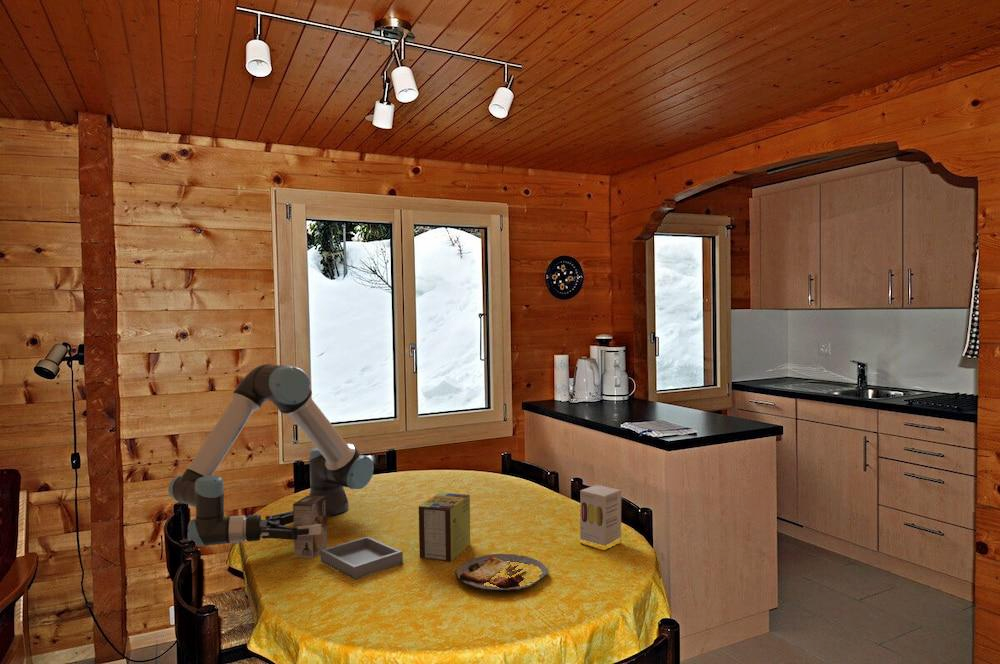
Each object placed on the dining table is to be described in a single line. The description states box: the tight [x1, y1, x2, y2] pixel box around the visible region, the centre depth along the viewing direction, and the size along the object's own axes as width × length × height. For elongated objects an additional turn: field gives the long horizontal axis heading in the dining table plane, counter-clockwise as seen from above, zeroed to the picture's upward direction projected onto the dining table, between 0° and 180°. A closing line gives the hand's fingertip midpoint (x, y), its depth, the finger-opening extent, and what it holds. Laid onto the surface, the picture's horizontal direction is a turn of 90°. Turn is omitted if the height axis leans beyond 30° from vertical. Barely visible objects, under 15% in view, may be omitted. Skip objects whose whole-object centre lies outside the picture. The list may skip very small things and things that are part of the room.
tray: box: [319, 535, 404, 580], centre depth 191 cm, size 16×18×4 cm
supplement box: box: [579, 484, 622, 546], centre depth 204 cm, size 10×9×17 cm
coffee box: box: [292, 495, 328, 559], centre depth 199 cm, size 9×6×16 cm
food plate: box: [454, 553, 549, 592], centre depth 180 cm, size 25×23×4 cm
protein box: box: [418, 491, 471, 562], centre depth 200 cm, size 10×15×16 cm
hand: (321, 521), depth 200 cm, fingers open, 13 cm apart
